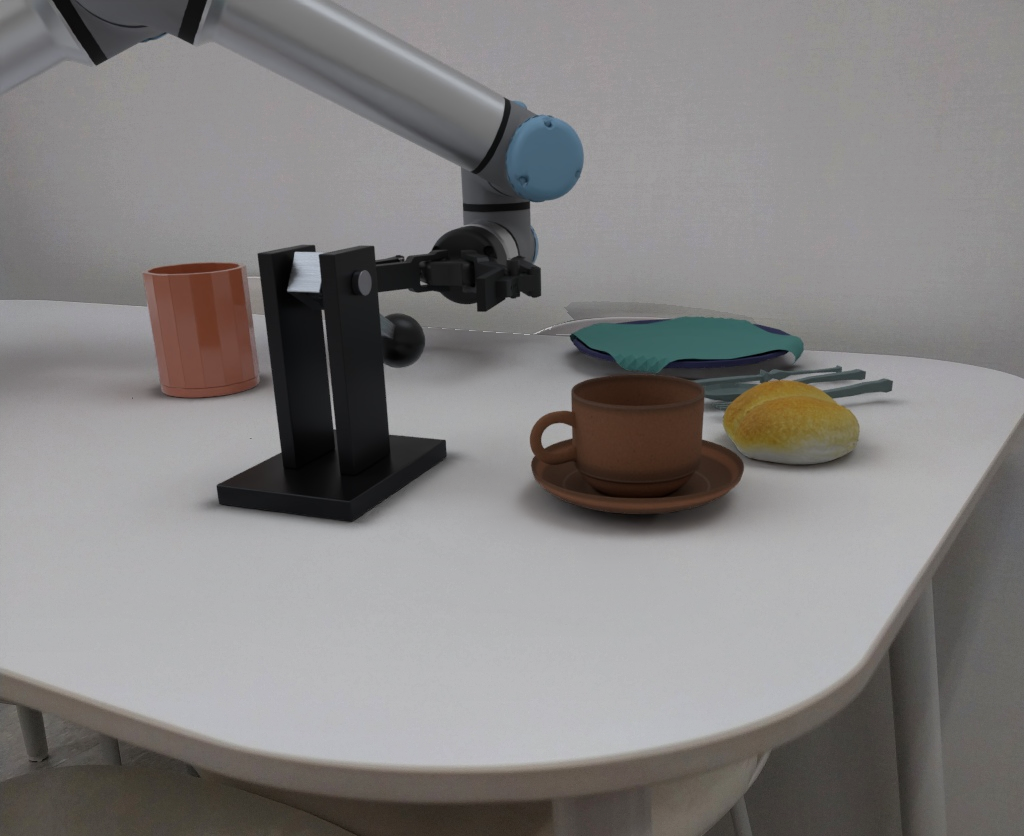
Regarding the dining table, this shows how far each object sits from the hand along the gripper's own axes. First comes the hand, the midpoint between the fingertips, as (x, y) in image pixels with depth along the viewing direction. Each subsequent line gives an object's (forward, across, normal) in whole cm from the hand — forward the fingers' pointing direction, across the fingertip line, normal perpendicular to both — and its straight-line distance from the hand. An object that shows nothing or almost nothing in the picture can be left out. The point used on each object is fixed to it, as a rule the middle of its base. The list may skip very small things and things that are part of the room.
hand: (402, 294), depth 81 cm
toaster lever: (+22, -5, 0) cm, 23 cm away
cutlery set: (-6, -25, -8) cm, 27 cm away
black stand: (+26, -5, -7) cm, 27 cm away
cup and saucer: (+25, -23, -8) cm, 35 cm away
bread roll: (+14, -32, -8) cm, 35 cm away
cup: (+4, +17, -7) cm, 19 cm away
